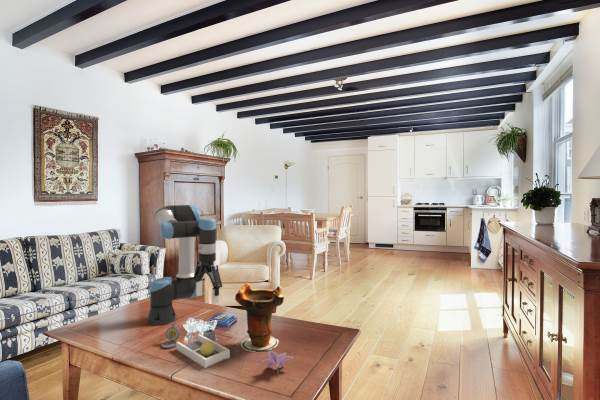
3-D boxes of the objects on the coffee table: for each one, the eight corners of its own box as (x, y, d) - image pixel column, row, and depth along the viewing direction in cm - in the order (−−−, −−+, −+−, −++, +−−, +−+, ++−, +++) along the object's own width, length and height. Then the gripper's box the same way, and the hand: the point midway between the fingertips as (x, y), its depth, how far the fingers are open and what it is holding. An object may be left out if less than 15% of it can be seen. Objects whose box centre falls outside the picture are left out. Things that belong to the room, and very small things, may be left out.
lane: (176, 349, 152) (176, 342, 152) (199, 341, 161) (199, 334, 161) (205, 368, 136) (205, 360, 136) (229, 357, 145) (229, 349, 145)
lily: (298, 373, 135) (294, 347, 139) (286, 375, 125) (283, 347, 129) (271, 378, 138) (268, 353, 142) (258, 381, 127) (255, 353, 132)
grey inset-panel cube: (203, 340, 163) (203, 331, 162) (210, 337, 166) (210, 329, 165) (208, 342, 160) (208, 334, 160) (215, 339, 163) (215, 331, 163)
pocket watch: (162, 350, 152) (162, 328, 152) (160, 343, 159) (160, 322, 159) (181, 346, 156) (181, 325, 156) (178, 339, 163) (178, 319, 163)
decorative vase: (286, 352, 149) (283, 290, 149) (235, 356, 148) (231, 293, 147) (285, 332, 170) (282, 278, 170) (240, 336, 169) (237, 281, 168)
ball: (197, 355, 146) (197, 341, 146) (209, 350, 150) (209, 337, 150) (205, 360, 142) (205, 346, 142) (217, 355, 146) (217, 341, 146)
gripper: (185, 249, 156) (185, 294, 157) (215, 257, 139) (215, 308, 140) (199, 247, 162) (199, 291, 163) (230, 255, 145) (230, 303, 146)
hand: (207, 299), depth 151 cm, fingers open, 13 cm apart
